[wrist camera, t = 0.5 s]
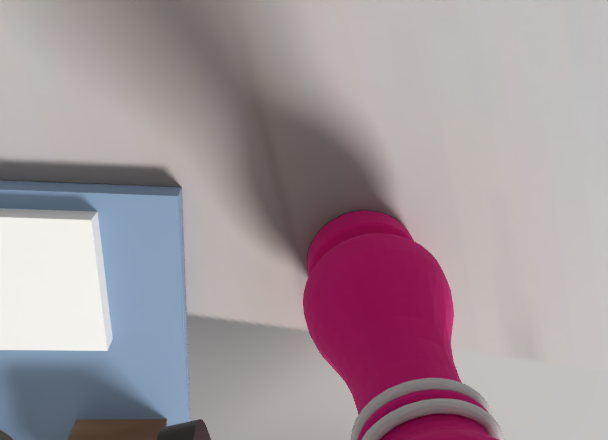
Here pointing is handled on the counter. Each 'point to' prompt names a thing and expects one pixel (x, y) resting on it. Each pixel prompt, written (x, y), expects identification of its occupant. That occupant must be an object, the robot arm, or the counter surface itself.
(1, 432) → the maple cylinder
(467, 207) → the counter surface
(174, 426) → the robot arm
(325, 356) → the pepper mill
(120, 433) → the walnut cube
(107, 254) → the board
